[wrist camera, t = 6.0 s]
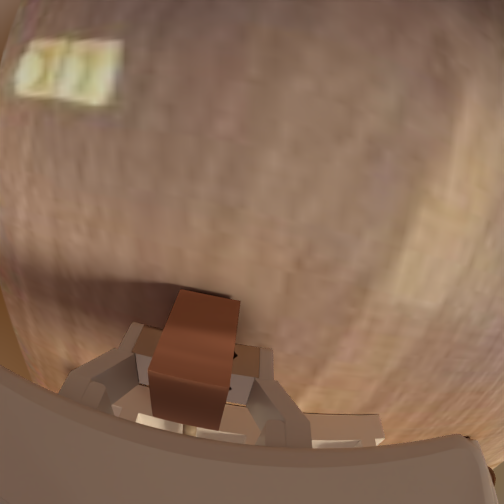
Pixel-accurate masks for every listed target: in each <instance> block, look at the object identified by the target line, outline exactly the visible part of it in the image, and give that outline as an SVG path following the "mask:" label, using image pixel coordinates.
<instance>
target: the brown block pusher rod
mask: <svg viewBox="0 0 504 504" xmlns="http://www.w3.org/2000/svg"><path fill="white" fill-rule="evenodd" d="M239 309H240V301H238V300H232V299H227V298H222V297H217V296H212V295H207V294H202V293H197V292H192V291H187V290H183V289H180V291H179V294H178V296H177V298H176V301H175V303H174V305H173V308H172V310H171V312H170V315H169V317H168V320H167V322H166V325H165V327H164V329H163V332H162V334H161V337H160V339H159V342H158V344H157V347H156V349H155V352H154V354H153V357H152V360H151V362H150V365H149V367H148V380H149V390H150V399H151V407H152V415H153V417H155V418H159V419H163V420H167V421H171V422H176V423H180V424H183V433H182V434H185V435H190V436H195V437H196V431H197V427H199V428H204V429H210V430H216V431H219V427H220V423H221V419H222V415H223V411H224V407H225V404H226V400H227V396H228V392H229V388H230V380H231V372H232V364H233V356H234V348H235V340H236V332H237V324H238V316H239Z"/></svg>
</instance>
